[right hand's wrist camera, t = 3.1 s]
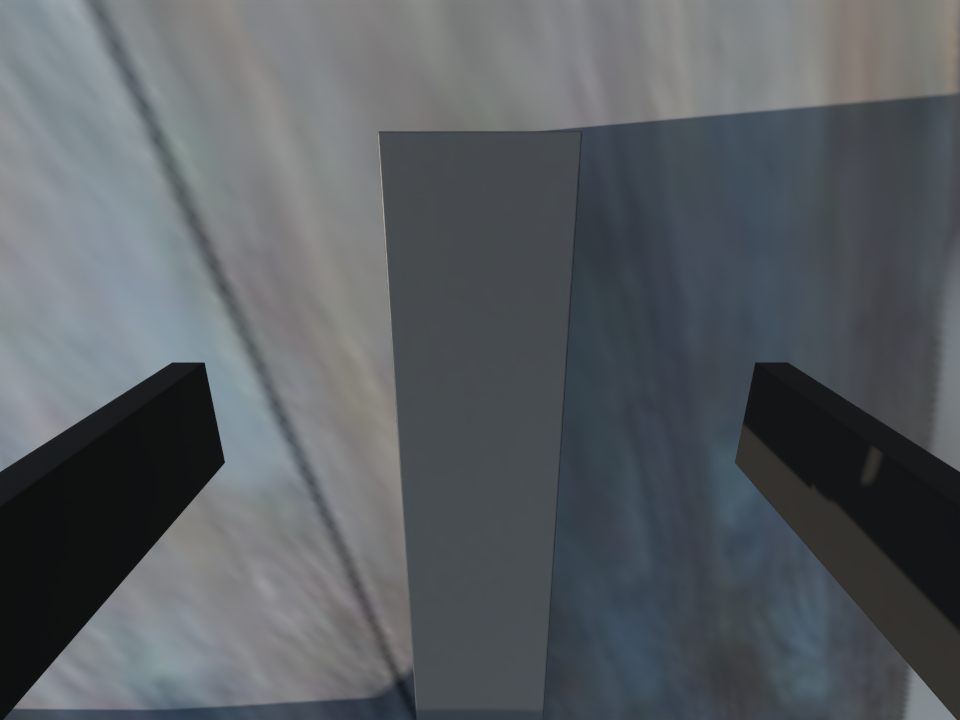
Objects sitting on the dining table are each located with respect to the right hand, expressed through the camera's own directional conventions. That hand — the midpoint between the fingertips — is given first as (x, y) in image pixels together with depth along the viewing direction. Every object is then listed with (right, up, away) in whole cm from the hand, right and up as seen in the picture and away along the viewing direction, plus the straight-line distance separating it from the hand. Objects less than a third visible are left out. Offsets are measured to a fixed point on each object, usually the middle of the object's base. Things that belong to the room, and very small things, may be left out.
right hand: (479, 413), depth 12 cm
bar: (0, -25, +23) cm, 34 cm away
